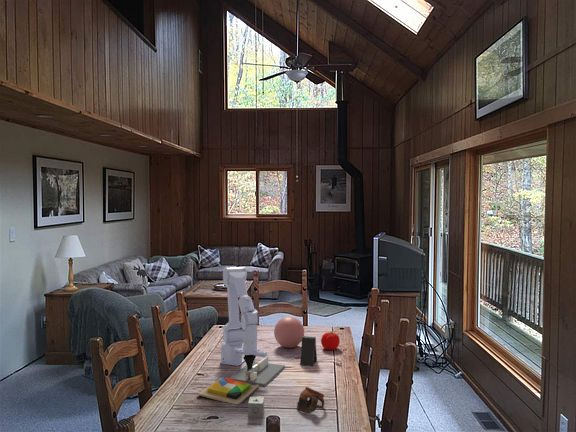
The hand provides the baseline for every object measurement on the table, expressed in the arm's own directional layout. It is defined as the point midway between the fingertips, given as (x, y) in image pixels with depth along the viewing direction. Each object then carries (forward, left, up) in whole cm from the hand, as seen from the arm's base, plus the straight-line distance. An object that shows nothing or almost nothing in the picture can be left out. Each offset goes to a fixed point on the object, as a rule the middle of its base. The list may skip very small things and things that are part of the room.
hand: (250, 372), depth 190 cm
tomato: (+21, +49, -3) cm, 54 cm away
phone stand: (+17, +26, -3) cm, 32 cm away
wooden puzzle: (-2, -16, -3) cm, 16 cm away
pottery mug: (+33, -18, -3) cm, 38 cm away
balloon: (0, +46, -3) cm, 46 cm away
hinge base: (+1, +5, -2) cm, 6 cm away
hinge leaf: (+1, 0, -1) cm, 2 cm away
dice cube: (+16, -29, -3) cm, 33 cm away
